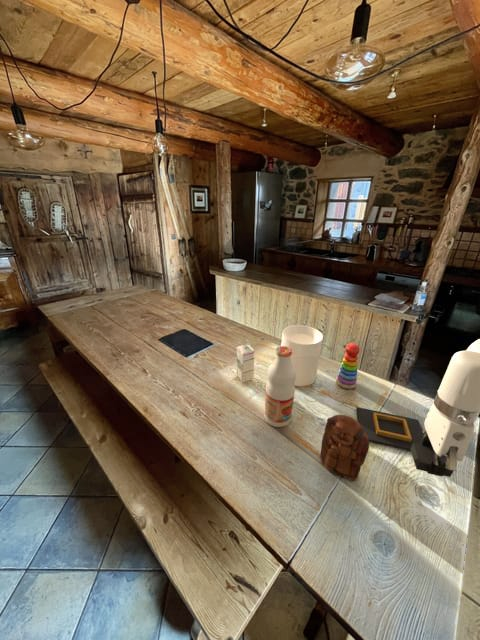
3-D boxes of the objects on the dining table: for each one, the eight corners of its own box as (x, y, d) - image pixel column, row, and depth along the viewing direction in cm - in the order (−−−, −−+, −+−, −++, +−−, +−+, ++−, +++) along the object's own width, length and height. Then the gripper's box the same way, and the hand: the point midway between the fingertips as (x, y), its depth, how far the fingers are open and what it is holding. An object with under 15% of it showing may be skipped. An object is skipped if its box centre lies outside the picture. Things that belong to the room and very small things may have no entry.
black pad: (441, 456, 66) (445, 449, 65) (450, 477, 62) (454, 470, 60) (410, 449, 68) (413, 442, 67) (416, 469, 63) (419, 462, 62)
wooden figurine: (314, 464, 78) (323, 418, 70) (321, 448, 82) (330, 404, 75) (356, 486, 72) (372, 440, 64) (361, 468, 77) (376, 422, 69)
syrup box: (254, 379, 112) (255, 350, 106) (242, 383, 110) (242, 353, 104) (248, 371, 117) (249, 343, 110) (236, 375, 114) (236, 346, 108)
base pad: (417, 421, 92) (419, 416, 91) (430, 456, 80) (433, 450, 79) (356, 408, 98) (357, 403, 97) (359, 439, 86) (361, 433, 84)
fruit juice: (267, 404, 99) (272, 339, 87) (292, 411, 96) (301, 345, 84) (260, 423, 91) (265, 354, 79) (288, 431, 88) (297, 361, 76)
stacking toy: (357, 381, 112) (367, 343, 103) (353, 392, 106) (363, 352, 97) (338, 375, 115) (346, 337, 107) (333, 385, 109) (341, 346, 101)
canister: (292, 390, 106) (298, 348, 97) (271, 368, 119) (274, 329, 110) (324, 380, 112) (331, 339, 103) (300, 360, 125) (306, 322, 116)
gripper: (499, 442, 48) (463, 502, 56) (459, 383, 63) (435, 437, 71) (451, 433, 50) (423, 491, 58) (423, 378, 65) (403, 431, 73)
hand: (429, 461), depth 65 cm, fingers closed on black pad, 5 cm apart
